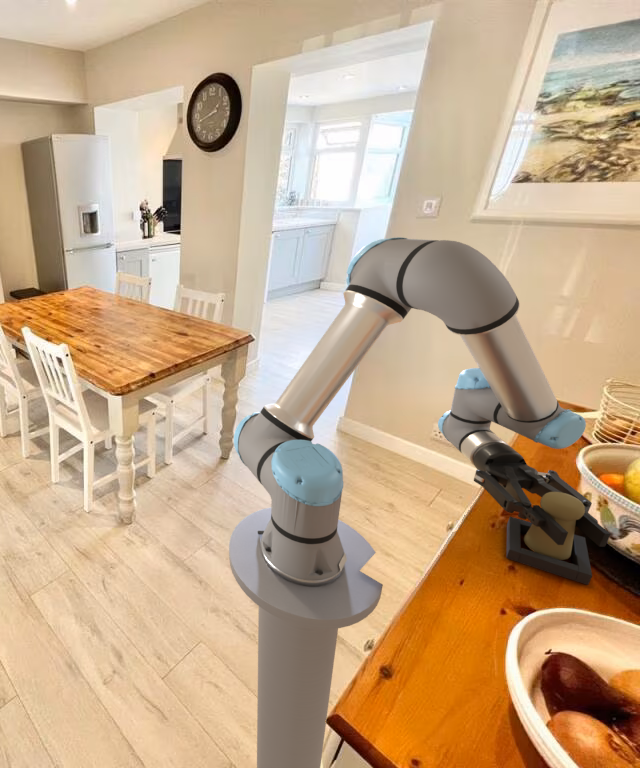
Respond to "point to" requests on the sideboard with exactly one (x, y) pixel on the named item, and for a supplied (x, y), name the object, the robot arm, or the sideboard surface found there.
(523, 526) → the dock pad
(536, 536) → the cork
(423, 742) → the sideboard surface
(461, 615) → the sideboard surface
